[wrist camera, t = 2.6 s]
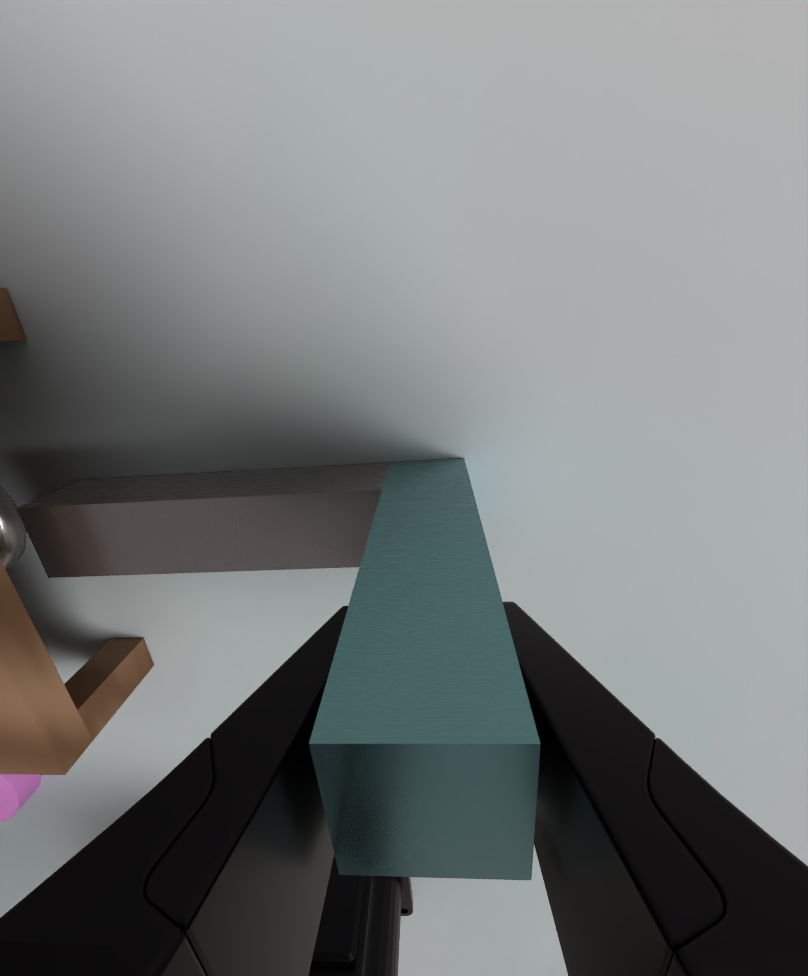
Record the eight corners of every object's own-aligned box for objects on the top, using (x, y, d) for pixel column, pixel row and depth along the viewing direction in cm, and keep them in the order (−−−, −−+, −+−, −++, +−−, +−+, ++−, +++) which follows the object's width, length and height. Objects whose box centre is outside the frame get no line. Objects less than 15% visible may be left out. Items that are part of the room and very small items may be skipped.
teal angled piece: (465, 525, 14) (531, 880, 5) (105, 540, 16) (-374, 855, 6) (464, 458, 14) (540, 743, 4) (81, 479, 15) (-520, 743, 5)
